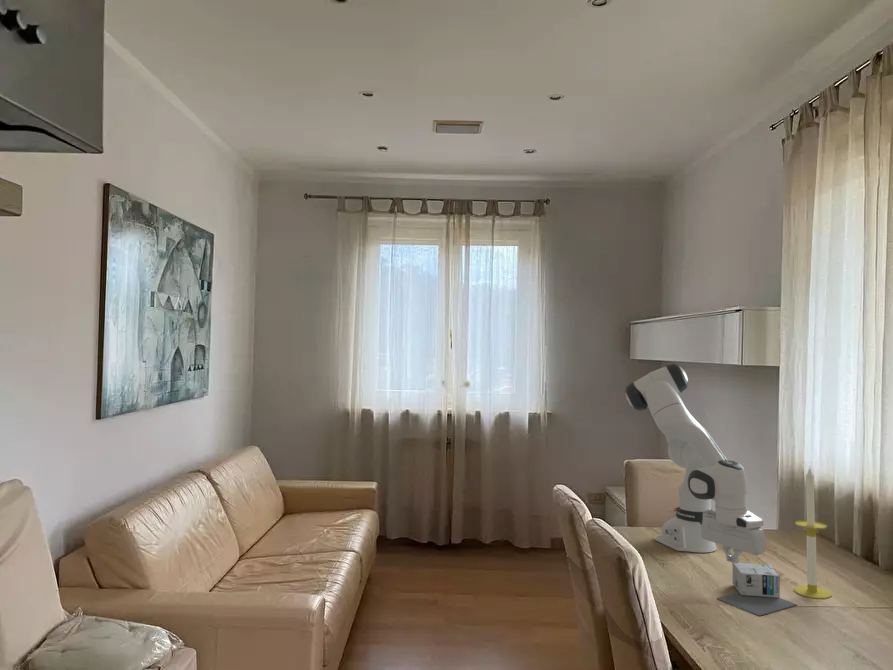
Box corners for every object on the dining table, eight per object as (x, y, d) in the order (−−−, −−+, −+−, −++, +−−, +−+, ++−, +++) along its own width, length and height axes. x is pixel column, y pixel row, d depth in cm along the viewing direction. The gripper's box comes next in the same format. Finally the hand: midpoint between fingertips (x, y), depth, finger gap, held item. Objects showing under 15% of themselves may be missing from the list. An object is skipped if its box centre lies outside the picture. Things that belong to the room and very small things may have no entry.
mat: (717, 599, 189) (717, 597, 189) (753, 589, 196) (753, 588, 196) (759, 616, 176) (759, 615, 176) (797, 605, 184) (797, 604, 184)
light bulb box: (740, 595, 190) (780, 599, 188) (740, 572, 190) (780, 575, 188) (732, 583, 200) (769, 586, 198) (732, 561, 201) (769, 564, 198)
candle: (836, 600, 187) (833, 470, 188) (797, 597, 190) (794, 468, 191) (826, 588, 196) (823, 464, 197) (790, 585, 199) (787, 463, 200)
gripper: (696, 509, 202) (697, 554, 202) (754, 524, 184) (755, 573, 184) (709, 507, 205) (710, 550, 205) (768, 521, 187) (769, 569, 187)
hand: (732, 561), depth 194 cm, fingers closed
